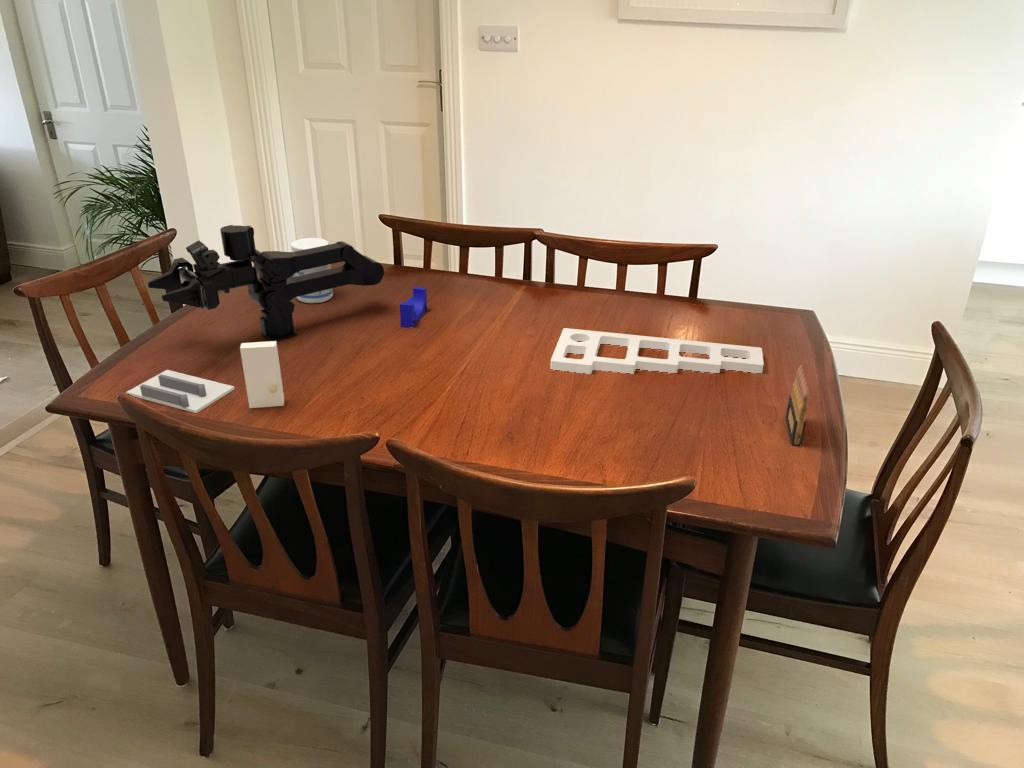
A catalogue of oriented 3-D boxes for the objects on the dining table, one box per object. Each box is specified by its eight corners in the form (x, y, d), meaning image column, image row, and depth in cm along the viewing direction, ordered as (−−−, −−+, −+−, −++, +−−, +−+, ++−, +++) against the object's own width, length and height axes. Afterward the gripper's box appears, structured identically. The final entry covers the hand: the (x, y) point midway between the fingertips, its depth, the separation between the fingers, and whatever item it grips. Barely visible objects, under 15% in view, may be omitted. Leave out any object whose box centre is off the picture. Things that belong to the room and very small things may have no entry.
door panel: (250, 402, 162) (241, 343, 156) (284, 399, 163) (276, 341, 157) (248, 411, 159) (239, 351, 153) (283, 408, 160) (274, 348, 154)
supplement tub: (291, 304, 208) (284, 248, 201) (301, 290, 216) (295, 236, 209) (329, 305, 207) (323, 249, 200) (337, 291, 216) (332, 237, 209)
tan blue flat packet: (785, 417, 160) (795, 362, 154) (795, 418, 159) (806, 363, 154) (791, 445, 150) (802, 388, 145) (801, 446, 150) (813, 389, 144)
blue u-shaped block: (410, 308, 206) (409, 286, 204) (427, 310, 206) (426, 287, 203) (394, 327, 196) (393, 303, 193) (412, 328, 195) (411, 305, 192)
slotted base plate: (167, 372, 173) (165, 360, 172) (234, 389, 167) (232, 376, 166) (126, 394, 164) (123, 382, 163) (196, 413, 158) (193, 400, 157)
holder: (759, 358, 184) (761, 347, 183) (764, 395, 168) (766, 384, 167) (563, 338, 192) (563, 327, 191) (549, 372, 177) (550, 360, 175)
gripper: (206, 229, 181) (133, 242, 172) (239, 251, 168) (161, 267, 159) (214, 277, 186) (144, 292, 177) (246, 302, 173) (172, 319, 164)
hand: (154, 291), depth 169 cm, fingers open, 9 cm apart
